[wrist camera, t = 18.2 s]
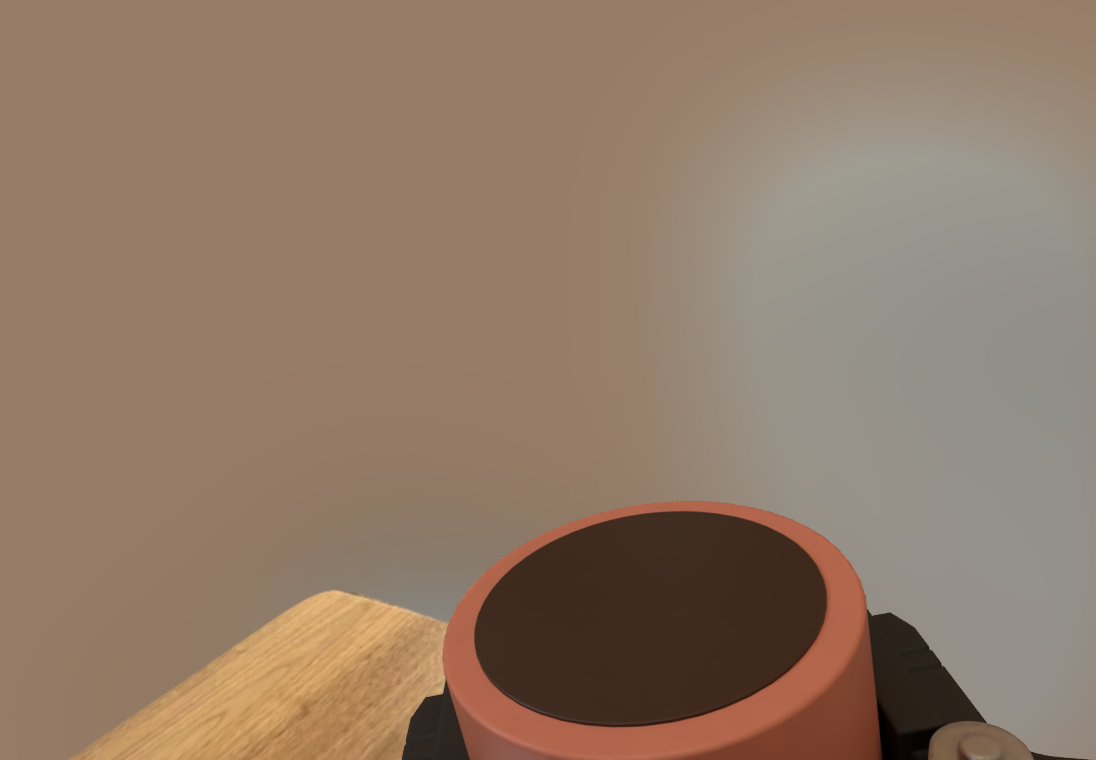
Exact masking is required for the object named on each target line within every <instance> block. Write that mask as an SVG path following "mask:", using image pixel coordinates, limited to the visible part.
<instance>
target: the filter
mask: <svg viewBox="0 0 1096 760" xmlns="http://www.w3.org/2000/svg"><path fill="white" fill-rule="evenodd" d="M443 666H444V674H445V677H446V681H447V684H448V688H449V691H450V694H451V698H452V701H453V704H454V708H455V711H456V715H457V718H458V721H459V725H460V728H461V731H462V735H463V738H464V741H465V745H466V748H467V752H468V755H469V758H470V760H883V758H882V748H881V739H880V729H879V720H878V710H877V700H876V691H875V681H874V672H873V662H872V652H871V643H870V633H869V624H868V614H867V605H866V596H865V593H864V590H863V587H862V584H861V581H860V579H859V577H858V575H857V574H856V572H855V571H854V569H853V567H852V565H851V564H850V562H849V561H848V560H847V559H846V557H845V556H844V555H843V554H842V553H841V552H840V551H839V549H837V548H836V547H835V546H834V545H833V544H832V543H830V542H829V541H828V540H827V539H826V538H825V537H823V536H821V535H820V534H818V533H817V532H815V531H813V530H812V529H810V528H809V527H806V526H805V525H802V524H800V523H798V522H796V521H794V520H792V519H789V518H786V517H784V516H781V515H778V514H775V513H772V512H768V511H764V510H761V509H757V508H753V507H747V506H741V505H735V504H727V503H718V502H700V501H680V502H663V503H652V504H644V505H637V506H631V507H625V508H620V509H616V510H611V511H607V512H603V513H599V514H596V515H592V516H589V517H585V518H582V519H579V520H576V521H574V522H571V523H568V524H566V525H562V526H560V527H558V528H556V529H553V530H551V531H549V532H546V533H544V534H542V535H540V536H538V537H536V538H535V539H533V540H531V541H529V542H527V543H525V544H524V545H522V546H520V547H519V548H517V549H516V550H514V551H512V552H511V553H509V554H508V555H506V556H505V557H504V558H502V559H501V560H500V561H498V562H497V563H496V564H494V565H493V566H492V567H491V568H490V569H488V570H487V571H486V572H485V573H484V574H483V575H482V576H481V577H480V578H479V579H478V580H477V581H476V582H475V583H474V584H473V586H472V587H471V588H470V589H469V590H468V591H467V592H466V594H465V595H464V597H463V598H462V600H461V601H460V603H459V604H458V605H457V607H456V609H455V611H454V613H453V615H452V617H451V619H450V621H449V625H448V628H447V631H446V635H445V639H444V647H443Z"/></svg>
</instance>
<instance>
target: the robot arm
mask: <svg viewBox="0 0 1096 760" xmlns="http://www.w3.org/2000/svg"><path fill="white" fill-rule="evenodd" d="M867 614H868V624H869V633H870V643H871V652H872V662H873V672H874V681H875V691H876V700H877V710H878V720H879V729H880V739H881V748H882V758H883V760H1087V759H1074V758H1062V757H1053V756H1046V755H1042V754H1037V753H1034V752H1031V751H1029V749H1028V748H1027V747H1026V745H1025V744H1024V743H1023V742H1022V741H1021V740H1020V739H1018V738H1017V737H1016V736H1014V735H1013V734H1011V733H1010V732H1008V731H1006V730H1004V729H1002V728H999V727H997V726H994V725H991V724H987V722H986V721H985V720H984V718H983V717H982V716H981V715H980V713H979V712H978V711H977V709H976V708H975V707H974V705H973V704H972V703H971V701H970V700H969V699H968V697H967V696H966V695H965V693H964V692H963V691H962V689H961V688H960V687H959V686H958V684H957V683H956V682H955V680H954V679H953V678H952V676H951V675H950V674H949V673H948V671H947V670H946V668H945V667H944V666H943V667H942V665H941V662H940V660H939V659H938V658H937V657H936V655H935V654H934V653H933V651H932V650H931V651H930V649H929V646H928V645H927V643H926V642H925V641H924V639H923V638H922V637H921V635H920V634H919V633H918V632H917V630H916V629H915V628H914V627H913V626H911V625H910V624H908V623H907V622H905V621H903V620H902V619H900V618H898V617H897V616H895V615H893V614H892V613H885V614H879V615H874V616H872V615H871V614H870V613H869V611H868V610H867ZM402 760H470V758H469V755H468V752H467V748H466V745H465V741H464V738H463V735H462V731H461V728H460V725H459V721H458V718H457V715H456V711H455V708H454V704H453V701H452V698H451V694H450V691H449V688H448V684H447V681H445V687H444V693H443V694H441V695H436V696H431V697H426V698H425V699H424V700H423V702H422V703H421V705H420V706H419V708H418V709H417V710H416V712H415V713H414V715H413V716H412V718H411V720H410V724H409V729H408V733H407V738H406V745H405V746H404V751H403V755H402Z"/></svg>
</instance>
